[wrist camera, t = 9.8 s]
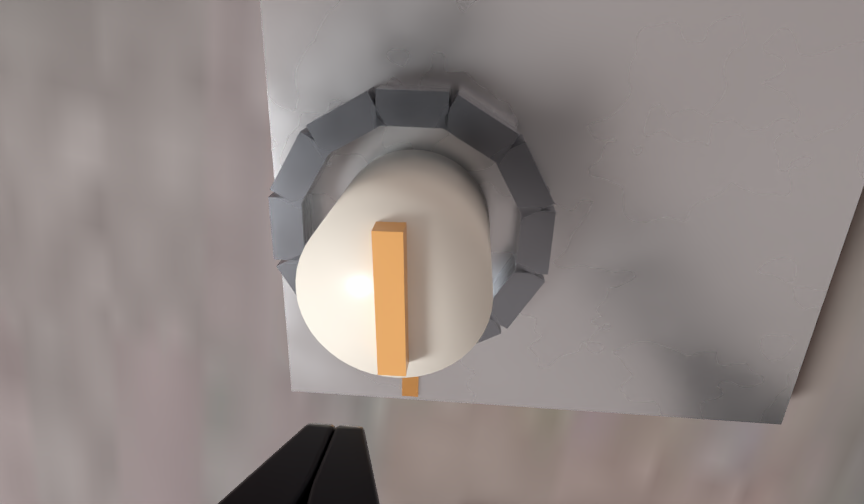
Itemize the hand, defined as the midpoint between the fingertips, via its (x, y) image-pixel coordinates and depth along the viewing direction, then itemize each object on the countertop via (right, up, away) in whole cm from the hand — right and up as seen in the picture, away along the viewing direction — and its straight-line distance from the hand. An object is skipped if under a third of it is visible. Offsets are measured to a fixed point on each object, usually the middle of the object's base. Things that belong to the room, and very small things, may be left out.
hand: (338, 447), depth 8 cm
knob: (+1, +4, +10) cm, 10 cm away
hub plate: (+5, +4, +10) cm, 13 cm away
